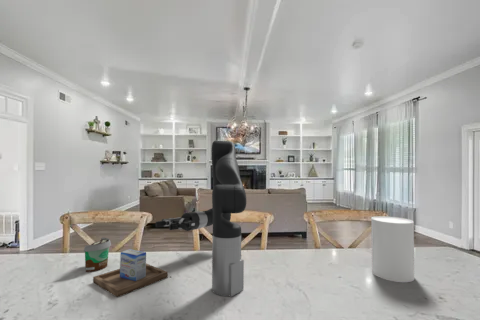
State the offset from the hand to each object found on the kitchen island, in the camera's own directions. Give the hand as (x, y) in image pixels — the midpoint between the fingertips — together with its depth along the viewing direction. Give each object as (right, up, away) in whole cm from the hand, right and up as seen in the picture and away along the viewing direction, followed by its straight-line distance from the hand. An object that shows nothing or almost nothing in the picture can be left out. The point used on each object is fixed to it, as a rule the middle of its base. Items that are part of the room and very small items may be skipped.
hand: (162, 225), depth 100 cm
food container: (-24, -17, +1) cm, 29 cm away
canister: (+85, -17, -3) cm, 87 cm away
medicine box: (-8, -16, -10) cm, 20 cm away
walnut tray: (-8, -16, -10) cm, 21 cm away
